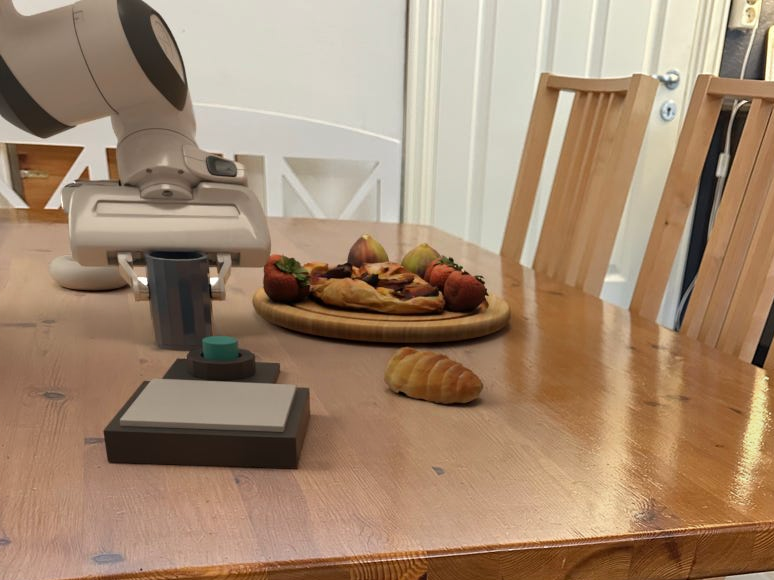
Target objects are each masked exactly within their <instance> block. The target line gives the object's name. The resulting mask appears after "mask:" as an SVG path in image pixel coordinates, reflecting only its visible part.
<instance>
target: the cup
mask: <svg viewBox="0 0 774 580" xmlns="http://www.w3.org/2000/svg"><path fill="white" fill-rule="evenodd" d="M144 261H145V267H144V268H145V275H146V276H145V278H147V281H148V288H149V298H150V301H148V304H149V311H150V321H151V330H152V338H153V344H154V346H155V347H157V348H159V349H163V350H167V351H175V352H190V351H192V350H196V349H199V348H203V342H202V340H203V339H204V338H206V337H210V336H216V334H215V324H214V312H213V311H214V310H213V301H212V299H211V285H210V278H211V273H210V267H209V259H208V255H206V254H205V253H201V252H167V251H150V252H146V253H145V254H144Z"/></svg>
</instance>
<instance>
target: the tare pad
mask: <svg viewBox="0 0 774 580" xmlns="http://www.w3.org/2000/svg"><path fill="white" fill-rule="evenodd" d="M238 355H239V358H236V359H230V360H211V359H206V358H204V354H203V348H199V349H196V350H192V351H188V353H187V354H186V358H178V357H177V358H176V359H175V361H174V362H173V363H172V364H171V366H170V367H169V368H168V369H167V371H166V372H165V374H164V375H163V376H162V377H161V379H173V380H196V381H219V382H242V383H265V384H277V381H278V378H279V376H280V373H281V363H280V362H268V361H267V362H264V361H263V362H262V361H256V354H255V353H254V352H252V351H251V350H249V349H246V348H245V349H244V348H241V347H240V348H239V347H238Z"/></svg>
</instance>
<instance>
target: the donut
mask: <svg viewBox="0 0 774 580" xmlns="http://www.w3.org/2000/svg"><path fill="white" fill-rule="evenodd" d="M49 274H50V275H49V276H50V277H51V278H52V280H53V281H54V282H55V283H56V284H58V285H59V286H61V287H63V288H66V289H71V290H77V291H108V290H115V289H119V288H122V287H125V286H126V285H129V284H128V283H127V282H126V281H125V279H124V278H123V277H122V276H121V275H120V271H119V267H84V266H81V265H80V264H79V263H78V262H77V261H75V260H74V259H73V257H72V253H69V254H64V255H60V256H57V257H56V258H53V260H52V262H51V263H50V265H49Z"/></svg>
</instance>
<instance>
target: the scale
mask: <svg viewBox="0 0 774 580" xmlns="http://www.w3.org/2000/svg"><path fill="white" fill-rule="evenodd" d="M310 393H311V391H310V388H309V387H297V384H288V383H287V384H286V383H276V384H265V383H242V382H219V381H196V380H173V379H162V378H151V380H143V381H142V382H141V383H140V385H139V386H138V387H137V388H136V390H135V391H134V392H133V393H132V394H131V396H130V397H129V398H128V399H127V401H126V402H125V403H124V404H123V406H122V407H121V408H120V409H119V410H118V412H117V413H116V414H115V415H114V417H113V418H112V419H111V420H110V422H109V423H107V425H106V426H105V427H104V429H103V430H102V433H103V438H104V447H105V452H106V458H107V463H120V464H121V463H123V464H124V463H125V464H151V465H152V464H153V465H179V466H181V465H183V466H209V467H210V466H211V467H236V468H237V467H238V468H239V467H240V468H266V469H267V468H270V469H298V466H299V463H300V458H301V454H302V449H303V446H304V442H305V437H306V433H307V430H308V425H309V421H310V417H311V398H310V397H311V396H310V395H311V394H310Z"/></svg>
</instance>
